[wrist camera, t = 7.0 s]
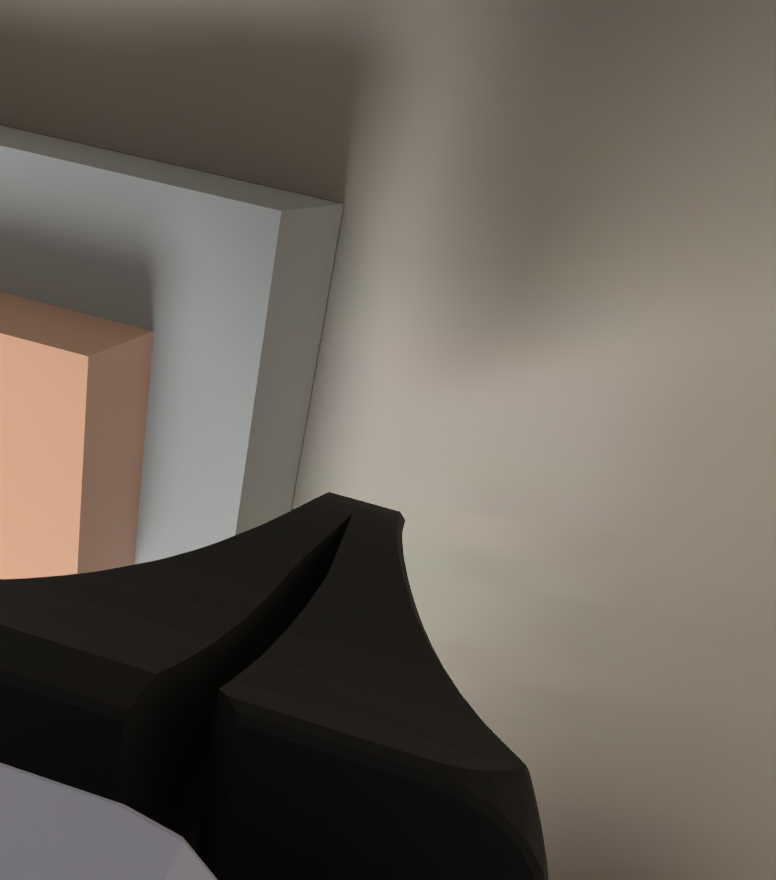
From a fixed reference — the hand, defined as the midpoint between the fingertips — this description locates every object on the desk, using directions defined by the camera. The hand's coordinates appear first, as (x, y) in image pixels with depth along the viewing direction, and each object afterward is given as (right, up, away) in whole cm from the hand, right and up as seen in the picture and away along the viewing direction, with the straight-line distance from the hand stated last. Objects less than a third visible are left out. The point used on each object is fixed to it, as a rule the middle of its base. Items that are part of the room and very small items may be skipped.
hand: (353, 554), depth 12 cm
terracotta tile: (-6, +2, +2) cm, 7 cm away
